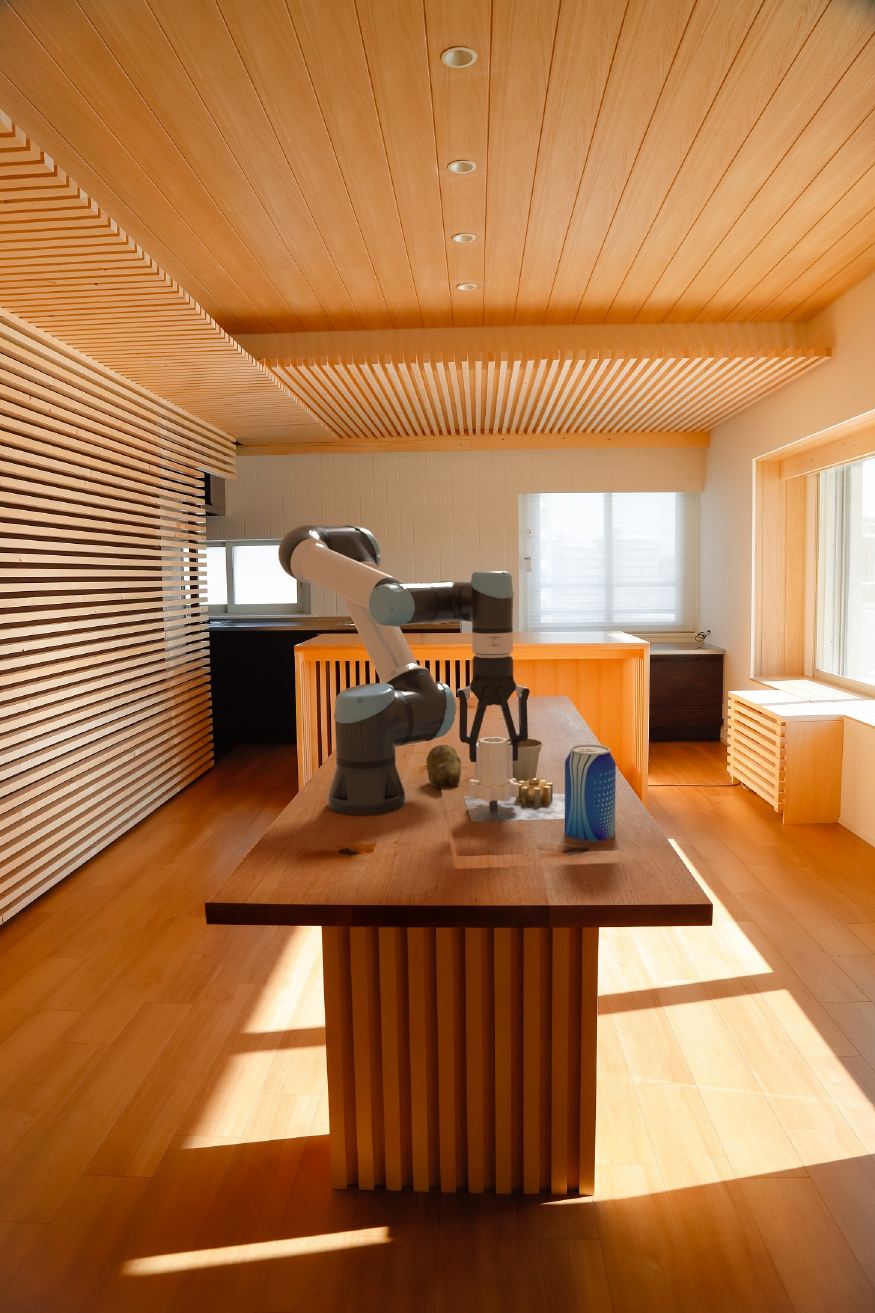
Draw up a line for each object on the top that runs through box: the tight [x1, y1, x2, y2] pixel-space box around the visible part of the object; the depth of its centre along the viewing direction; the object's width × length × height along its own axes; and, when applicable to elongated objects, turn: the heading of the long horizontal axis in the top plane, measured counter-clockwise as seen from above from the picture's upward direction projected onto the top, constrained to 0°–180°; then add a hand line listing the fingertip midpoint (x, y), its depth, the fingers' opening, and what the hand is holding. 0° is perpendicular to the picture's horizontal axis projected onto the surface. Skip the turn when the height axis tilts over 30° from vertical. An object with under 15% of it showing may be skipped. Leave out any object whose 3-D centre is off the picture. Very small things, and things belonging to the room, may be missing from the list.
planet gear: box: [469, 736, 519, 802], centre depth 150 cm, size 9×9×10 cm
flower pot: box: [507, 737, 544, 783], centre depth 174 cm, size 9×9×9 cm
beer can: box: [564, 743, 617, 842], centre depth 136 cm, size 8×8×16 cm
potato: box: [425, 744, 462, 790], centre depth 171 cm, size 8×13×8 cm, turn 170°
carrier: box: [462, 777, 565, 823], centre depth 151 cm, size 22×16×6 cm
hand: (493, 777), depth 151 cm, fingers closed on planet gear, 5 cm apart
